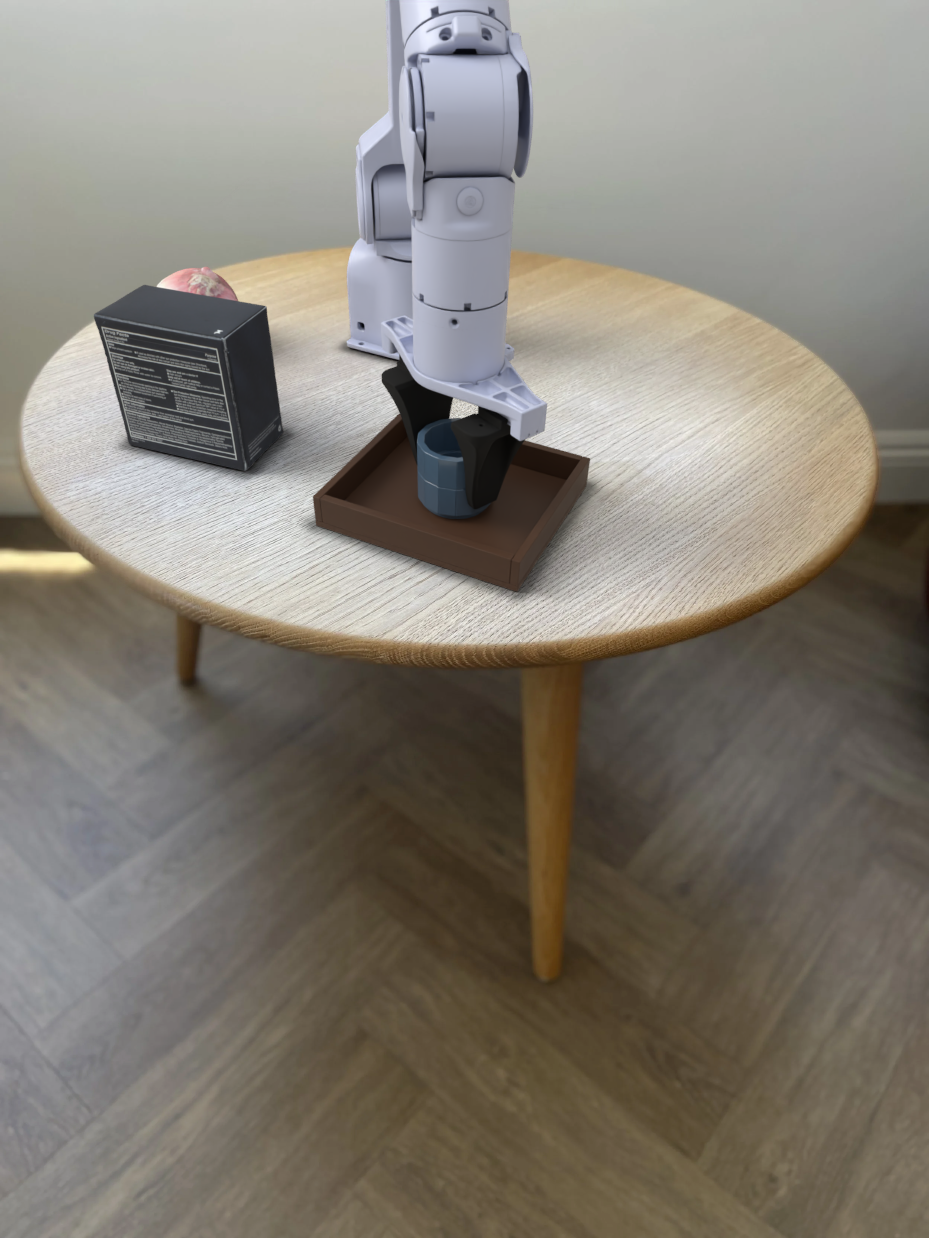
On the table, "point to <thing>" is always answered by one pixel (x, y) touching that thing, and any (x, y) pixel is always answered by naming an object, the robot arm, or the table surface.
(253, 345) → the small box
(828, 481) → the table surface
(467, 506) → the cup
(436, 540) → the tray
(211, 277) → the onion
